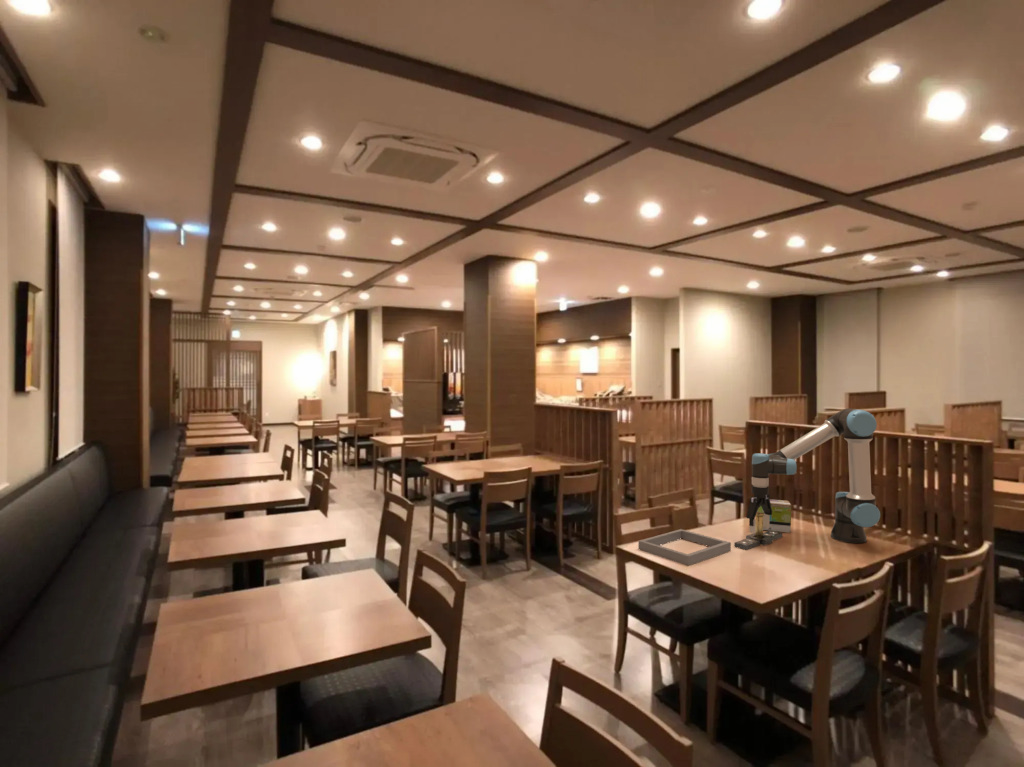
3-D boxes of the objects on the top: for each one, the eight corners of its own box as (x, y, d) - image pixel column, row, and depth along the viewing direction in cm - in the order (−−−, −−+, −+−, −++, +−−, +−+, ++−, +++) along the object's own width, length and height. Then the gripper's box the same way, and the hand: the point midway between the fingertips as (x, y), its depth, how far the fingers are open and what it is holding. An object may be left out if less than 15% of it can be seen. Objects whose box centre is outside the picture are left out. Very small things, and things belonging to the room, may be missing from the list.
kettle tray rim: (730, 551, 258) (730, 542, 258) (688, 565, 238) (688, 556, 238) (680, 537, 279) (680, 529, 279) (638, 549, 260) (638, 540, 260)
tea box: (759, 530, 291) (759, 502, 291) (756, 525, 301) (757, 497, 301) (791, 533, 287) (791, 504, 287) (787, 527, 297) (788, 499, 296)
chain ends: (786, 537, 279) (786, 532, 278) (749, 550, 258) (749, 545, 258) (767, 533, 286) (767, 528, 286) (731, 545, 266) (731, 540, 266)
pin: (765, 542, 272) (766, 513, 271) (761, 543, 269) (761, 514, 269) (757, 539, 275) (757, 511, 275) (752, 541, 272) (753, 512, 272)
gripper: (765, 481, 282) (764, 524, 282) (738, 487, 267) (738, 532, 268) (780, 484, 276) (779, 527, 276) (753, 490, 261) (753, 536, 262)
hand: (759, 530), depth 272 cm, fingers open, 12 cm apart
